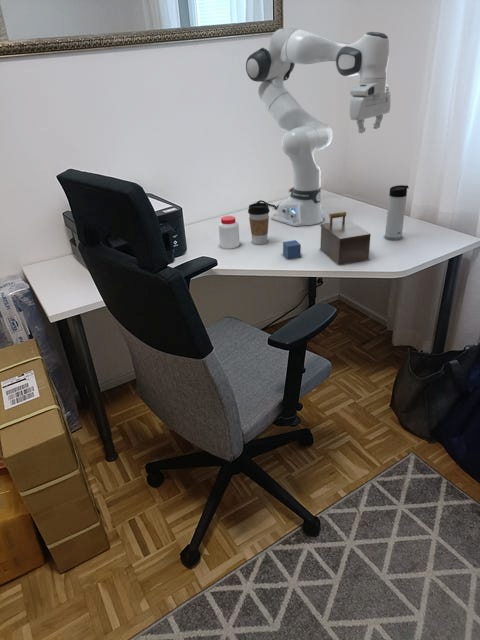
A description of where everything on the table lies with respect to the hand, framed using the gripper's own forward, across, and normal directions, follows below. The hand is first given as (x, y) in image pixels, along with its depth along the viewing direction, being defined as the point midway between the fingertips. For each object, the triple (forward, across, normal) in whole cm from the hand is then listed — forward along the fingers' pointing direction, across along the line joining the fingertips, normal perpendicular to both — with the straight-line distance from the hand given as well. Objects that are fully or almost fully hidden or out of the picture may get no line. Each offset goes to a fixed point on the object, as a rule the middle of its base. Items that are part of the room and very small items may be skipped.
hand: (369, 130), depth 173 cm
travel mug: (+40, -8, +10) cm, 42 cm away
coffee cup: (+40, +28, -28) cm, 56 cm away
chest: (+40, +18, +5) cm, 44 cm away
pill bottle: (+40, +38, -36) cm, 65 cm away
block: (+40, +31, -9) cm, 51 cm away
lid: (+31, +18, +4) cm, 36 cm away
